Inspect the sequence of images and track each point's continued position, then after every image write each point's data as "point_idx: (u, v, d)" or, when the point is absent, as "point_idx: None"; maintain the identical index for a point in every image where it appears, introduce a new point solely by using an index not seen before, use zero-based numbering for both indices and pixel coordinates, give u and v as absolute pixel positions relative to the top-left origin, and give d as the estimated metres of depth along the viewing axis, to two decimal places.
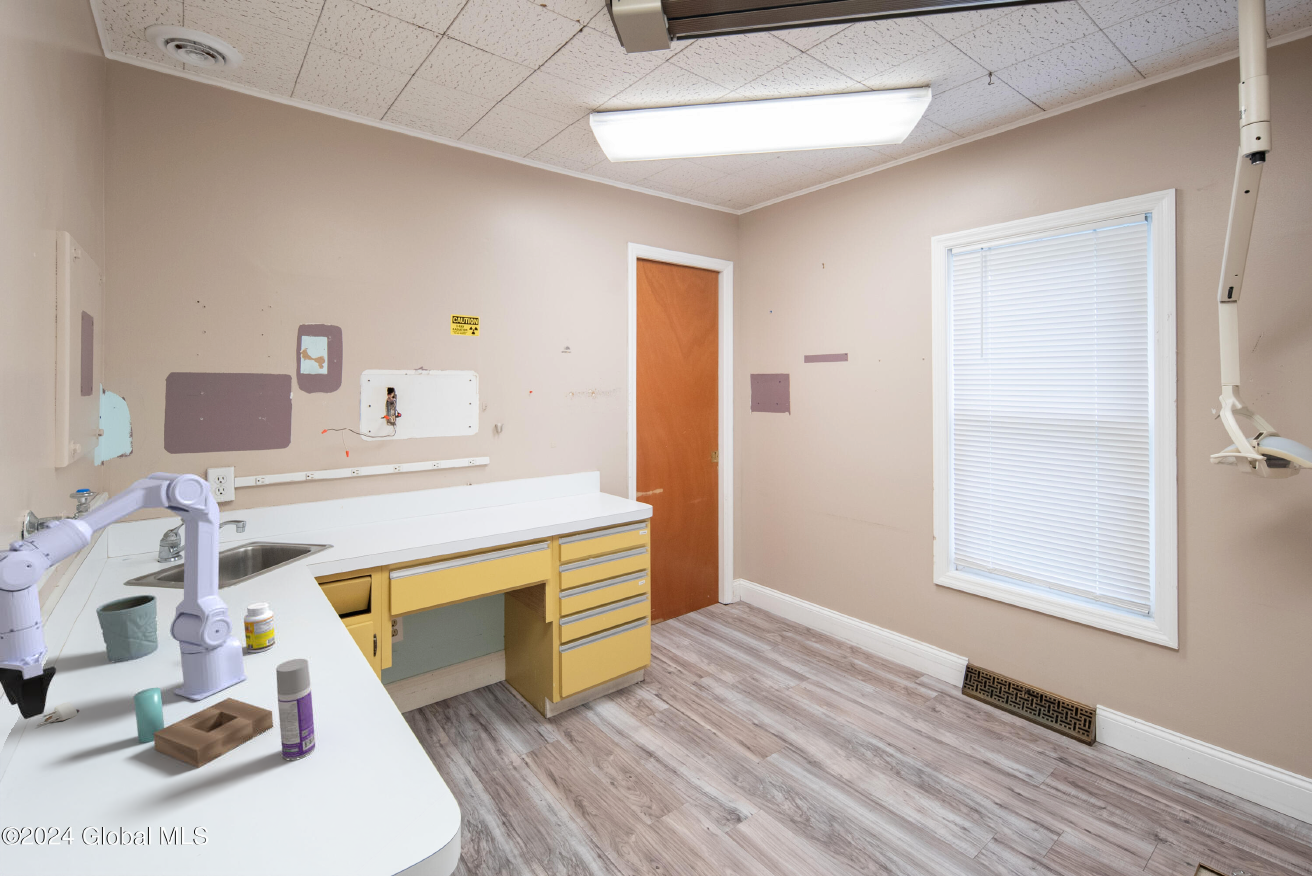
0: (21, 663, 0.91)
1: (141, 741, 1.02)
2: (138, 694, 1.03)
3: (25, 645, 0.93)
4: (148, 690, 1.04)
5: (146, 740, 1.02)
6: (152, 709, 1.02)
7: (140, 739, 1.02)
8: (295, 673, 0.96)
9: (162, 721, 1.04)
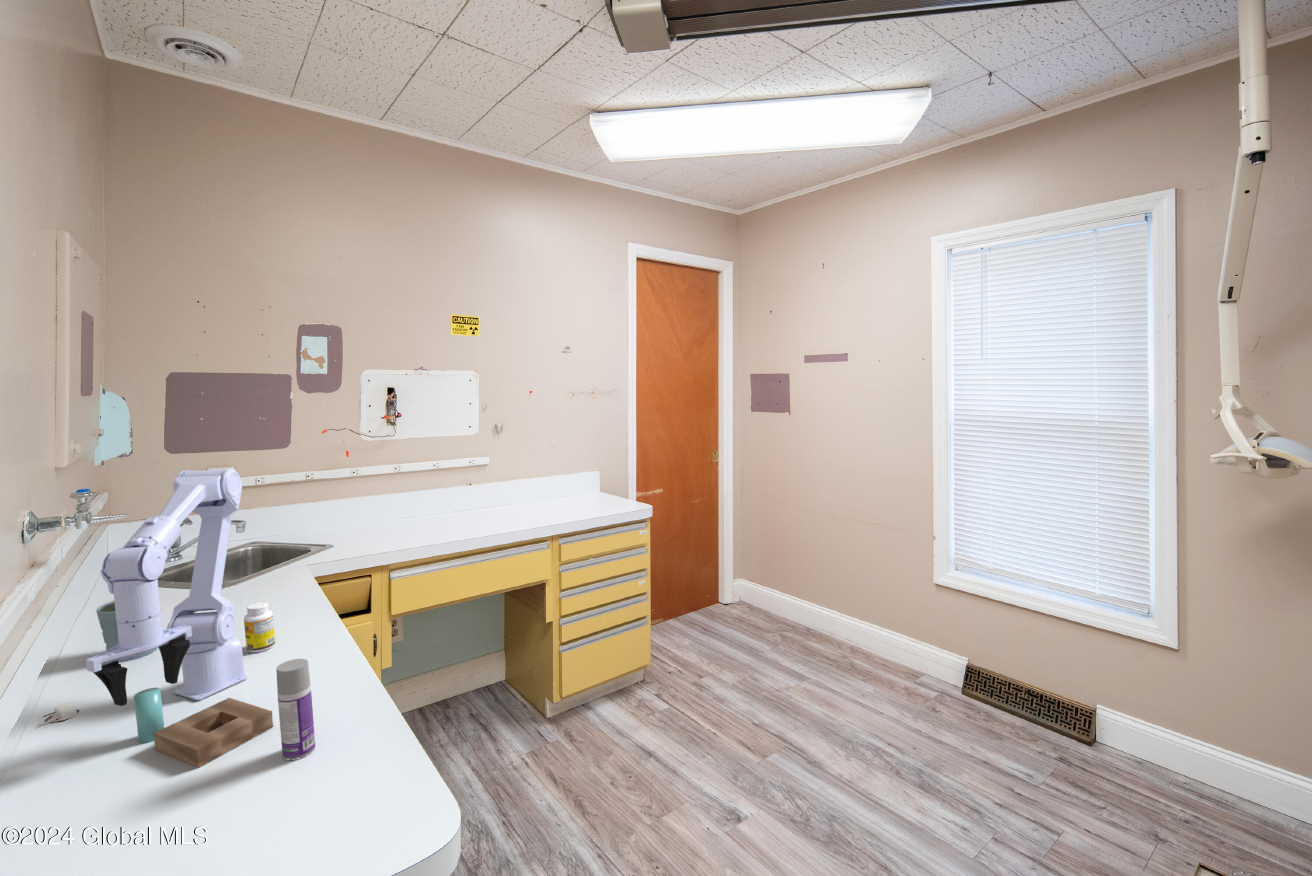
0: (105, 653, 0.98)
1: (141, 741, 1.02)
2: (138, 694, 1.03)
3: (122, 638, 0.99)
4: (148, 690, 1.04)
5: (146, 740, 1.02)
6: (152, 709, 1.02)
7: (140, 739, 1.02)
8: (295, 673, 0.96)
9: (162, 721, 1.04)
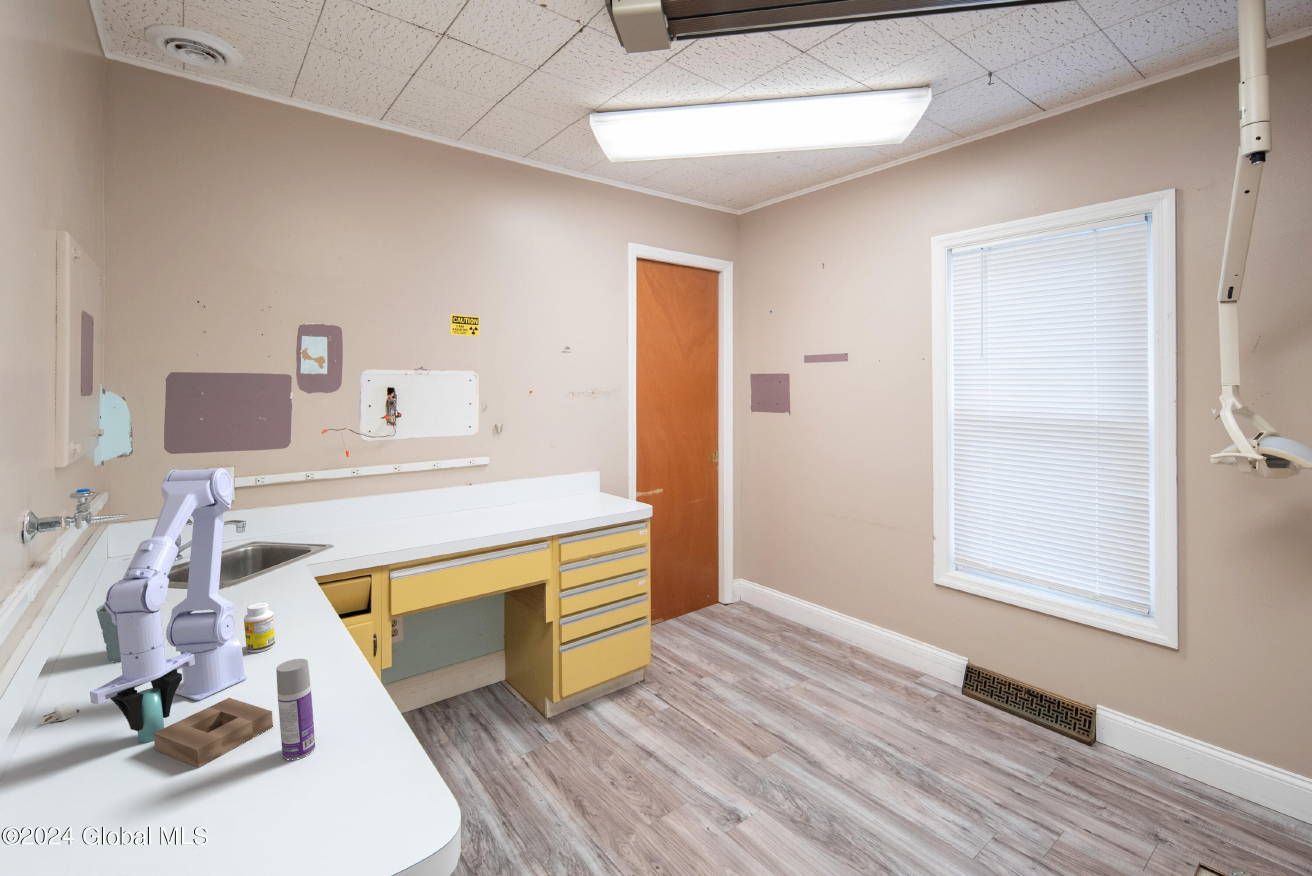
0: (109, 685, 0.99)
1: (141, 741, 1.02)
2: None
3: (125, 669, 1.00)
4: (148, 689, 1.04)
5: (146, 740, 1.02)
6: (152, 709, 1.02)
7: (140, 739, 1.02)
8: (295, 673, 0.96)
9: (162, 721, 1.04)
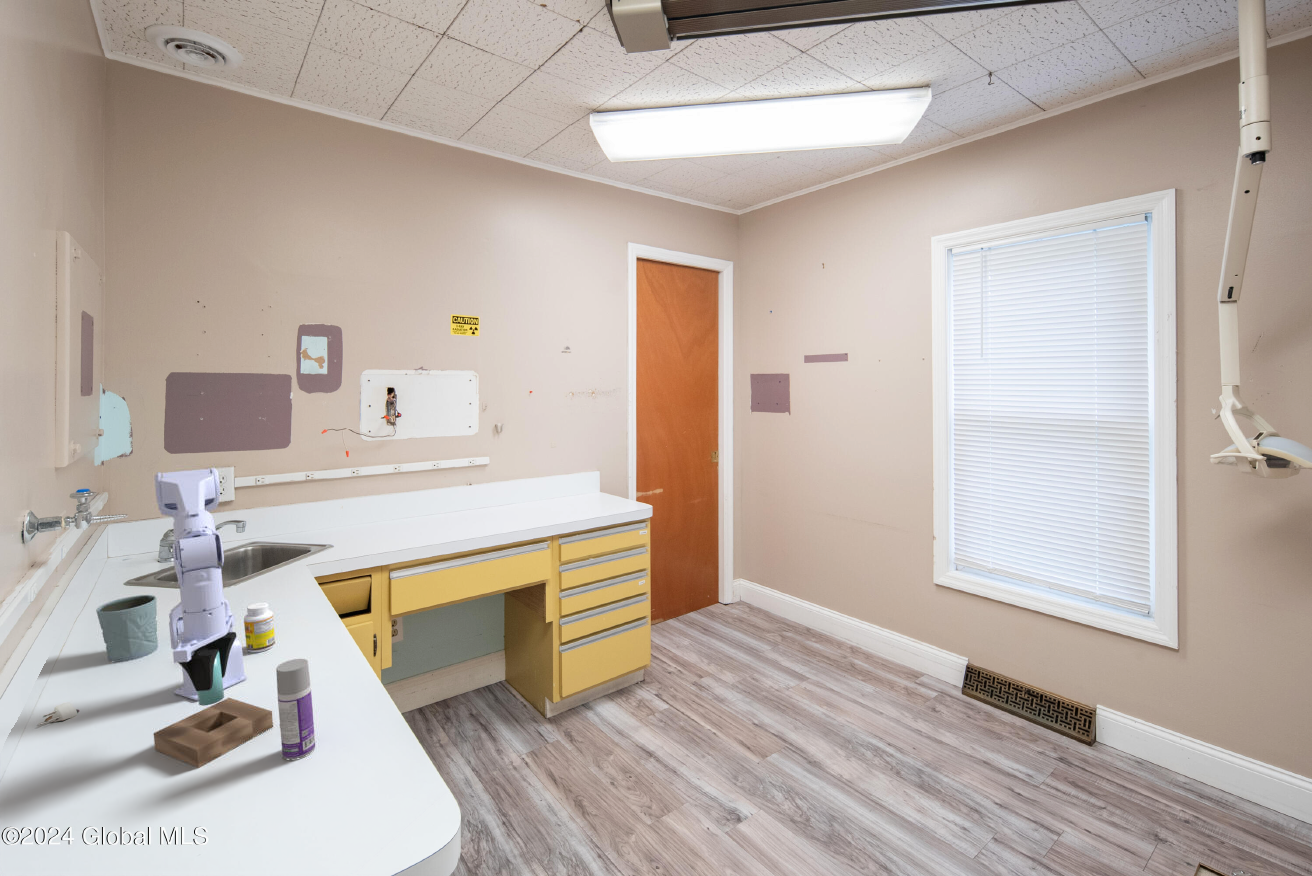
0: (184, 645, 0.96)
1: (207, 703, 1.01)
2: None
3: (197, 627, 0.98)
4: None
5: (213, 701, 1.01)
6: (218, 669, 1.02)
7: (206, 702, 1.01)
8: (295, 673, 0.96)
9: None
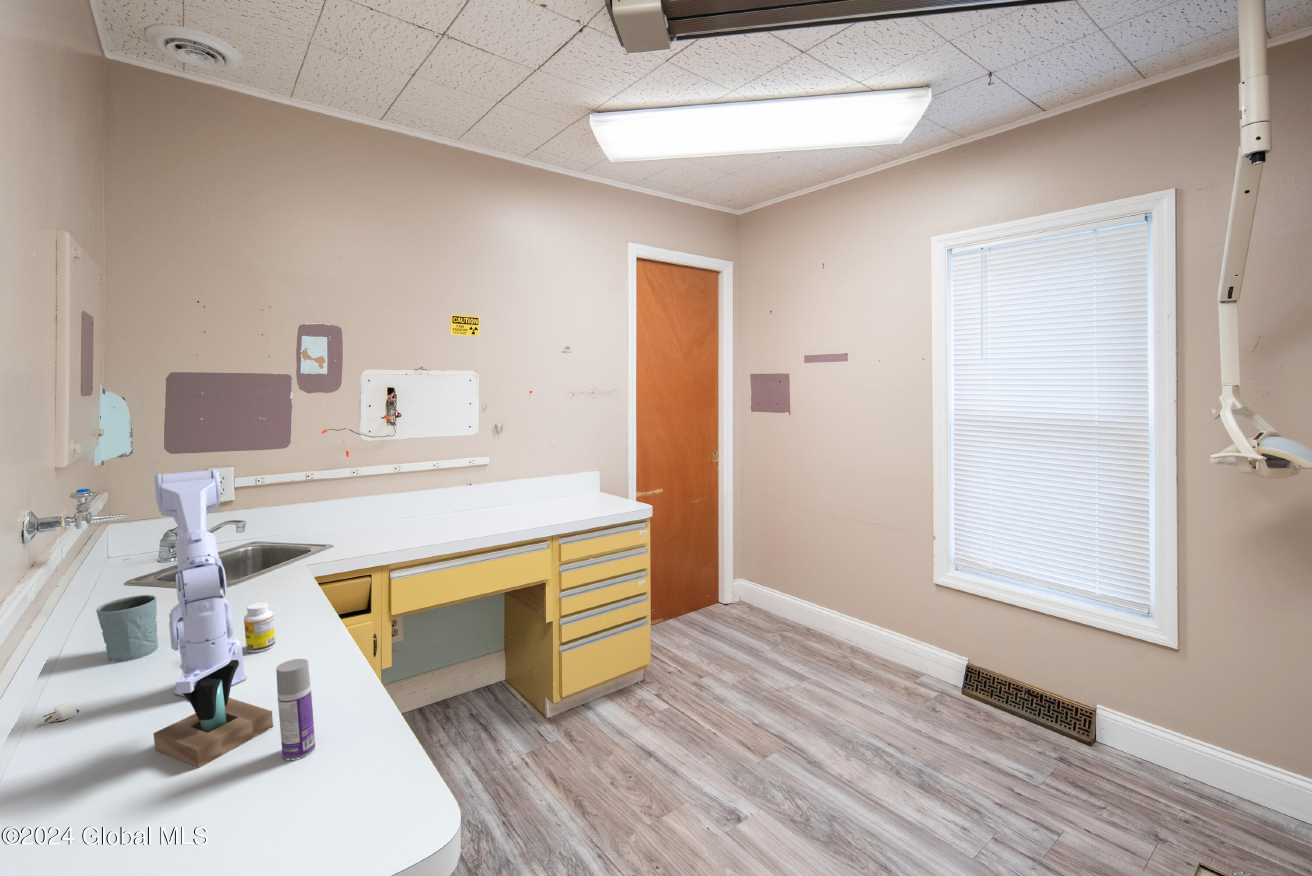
0: (187, 675, 0.97)
1: None
2: None
3: (200, 657, 0.99)
4: None
5: None
6: (220, 697, 1.02)
7: (209, 730, 1.01)
8: (295, 674, 0.96)
9: None
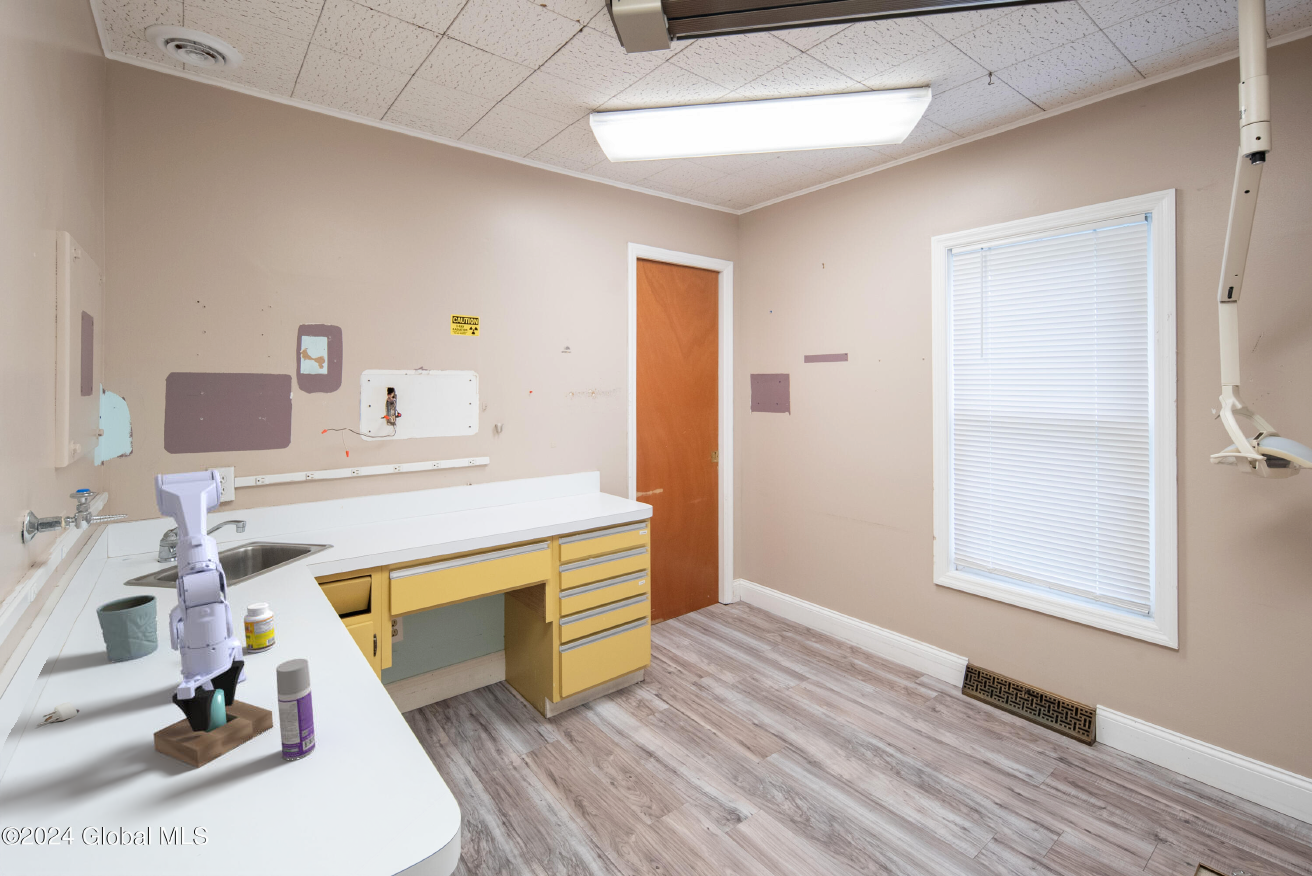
0: (188, 681, 0.97)
1: None
2: None
3: (200, 663, 0.99)
4: None
5: None
6: (222, 708, 1.02)
7: None
8: (295, 673, 0.96)
9: None
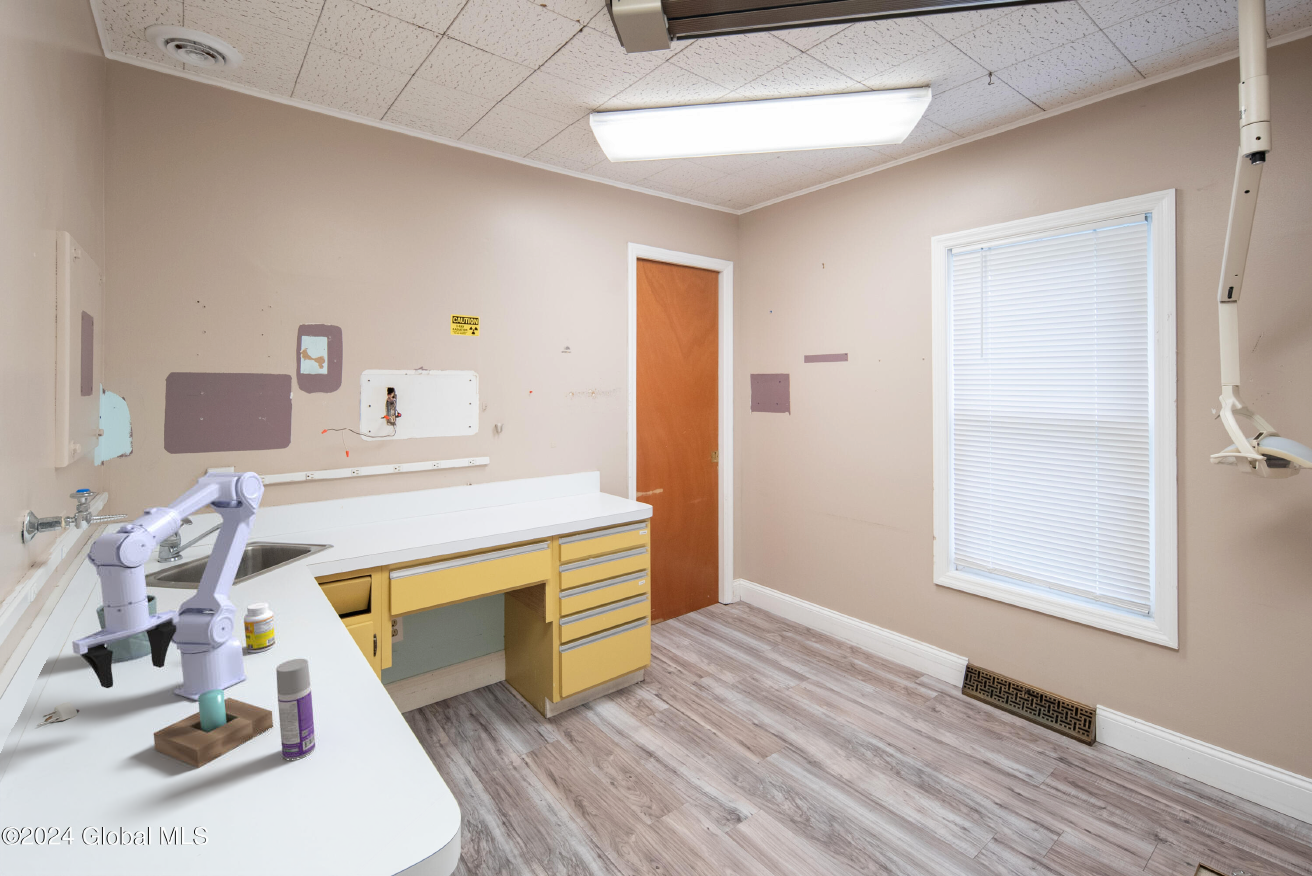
0: (92, 636, 1.00)
1: None
2: (202, 697, 1.01)
3: (108, 621, 1.01)
4: (207, 692, 1.03)
5: None
6: (222, 708, 1.02)
7: None
8: (295, 673, 0.96)
9: None
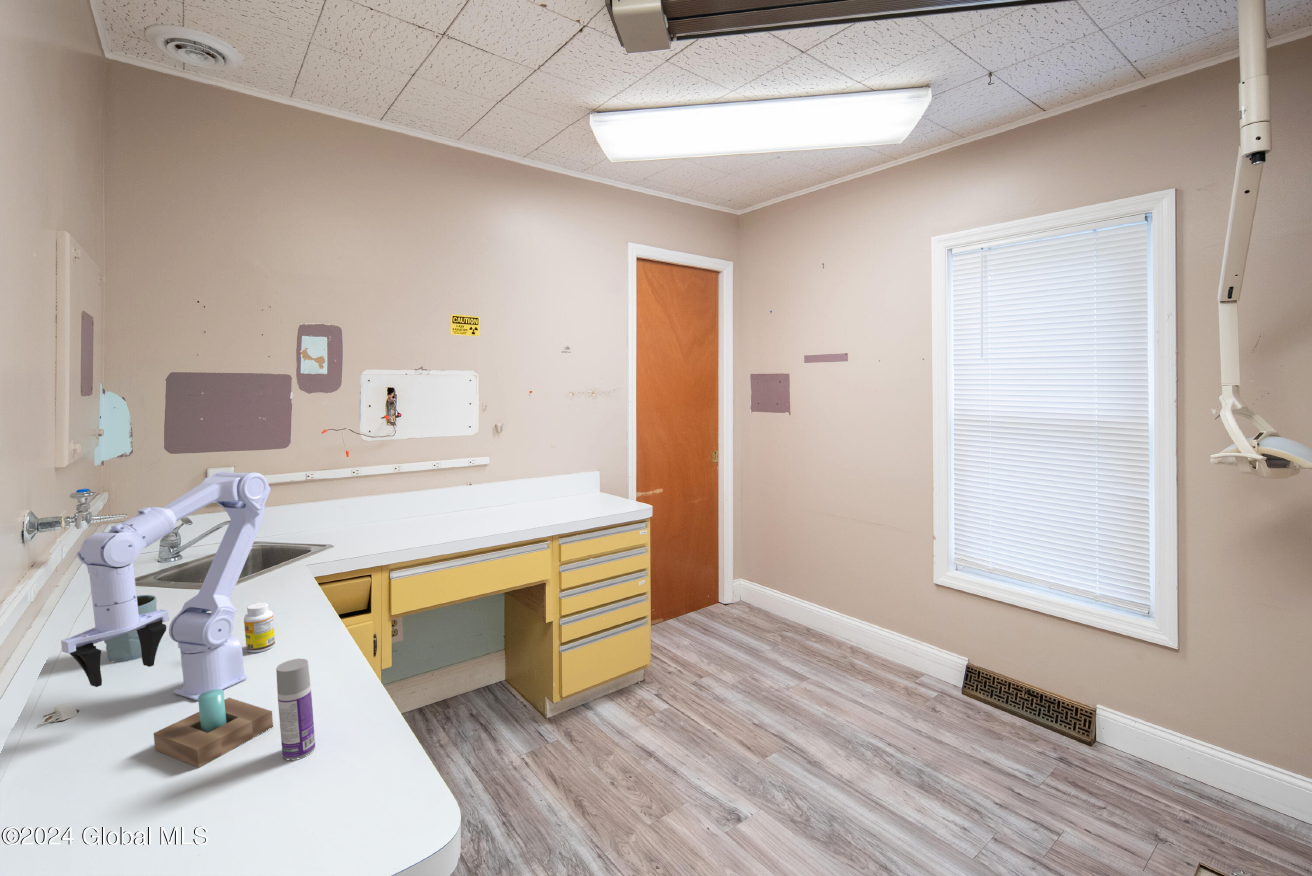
0: (81, 635, 1.01)
1: None
2: (202, 697, 1.01)
3: (97, 620, 1.02)
4: (207, 692, 1.03)
5: None
6: (222, 708, 1.02)
7: None
8: (295, 673, 0.96)
9: None
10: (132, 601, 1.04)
